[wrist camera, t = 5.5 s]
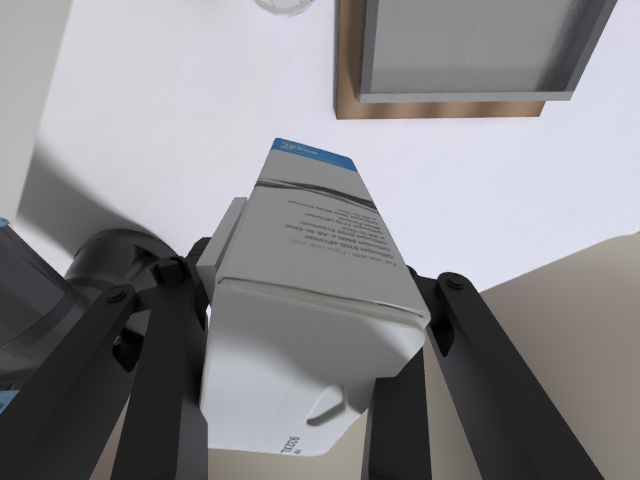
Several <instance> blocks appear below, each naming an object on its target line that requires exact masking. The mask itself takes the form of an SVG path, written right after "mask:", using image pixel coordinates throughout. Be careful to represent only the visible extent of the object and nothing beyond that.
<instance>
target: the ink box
mask: <svg viewBox="0 0 640 480" xmlns="http://www.w3.org/2000/svg"><path fill="white" fill-rule="evenodd" d="M430 320H431V316H430V312H429V310H428V308H427V306H426V304H425V302H424V300H423V298H422V296H421V294H420V292H419V290H418V288H417V286H416V284H415V282H414V280H413V278H412V276H411V274H410V272H409V270H408V268H407V266H406V264H405V262H404V260H403V258H402V256H401V254H400V252H399V250H398V248H397V246H396V245H395V242H394V240H393V238H392V236H391V234H390V232H389V230H388V228H387V227H386V225H385V223H384V221H383V219H382V217H381V215H380V214H379V212H378V210H377V208H376V206H375V204H374V202H373V200H372V198H371V196H370V194H369V192H368V190H367V188H366V186H365V184H364V182H363V180H362V178H361V176H360V174H359V173H358V171H357V169H356V167H355V165H354V163H353V161H352V160H351V159H350V158H348V157H345V156H341V155H338V154H335V153H331V152H328V151H325V150H321V149H317V148H314V147H310V146H307V145H303V144H300V143H296V142H293V141H289V140H285V139H281V138H276V139H275V140H274V142H273V145H272V147H271V149H270V152H269V154H268V156H267V159H266V161H265V163H264V166H263V168H262V171H261V173H260V175H259V177H258V180H257V182H256V184H255V186H254V189H253V191H252V193H251V195H250V198H249V200H248V202H247V205H246V207H245V209H244V211H243V214H242V216H241V218H240V220H239V223H238V225H237V228H236V230H235V232H234V234H233V236H232V239H231V241H230V243H229V246H228V248H227V251H226V253H225V255H224V258H223V260H222V263H221V265H220V267H219V270H218V272H217V274H216V278H215V289H214V295H213V301H212V308H211V316H210V323H209V329H208V337H207V344H206V353H205V361H204V368H203V376H202V383H201V390H200V398H199V407H200V410H201V412H202V414H203V416H204V418H205V419H206V421H207V423H208V448H217V449H231V450H243V451H254V452H264V453H276V454H287V455H296V456H318V455H322V454H324V453H326V452H327V451H328V450H329V449H330V448H331V447H332V446H333V445H334V443H335V442H336V441H338V439H339V438H340V437H341V436H342V435H343V434H344V433H345V431H346V430H347V428H348V427H349V426H350V425H351V424H352V422H353V421H355V420H356V419H357V418H359V417H360V416H361V414H362V413H363V412H364V411H365V410H366V409H367V408H368V406H369V405H370V403H371V399H372V394H373V389H374V385H375V380H376V378H381V377H395V376H396V375H397V374H398V373H399V372H400V371H401V370H402V369H403V367H404V366H405V365H406V364H407V363H408V362H409V361H410V360H411V358H412V357H413V356H414V355H415V354H416V353H417V352H418V351H419V349H420V348H421V347H422V346H423V345H424V341H425V334H424V329H425V327H426V326H427V324H428V323H429V322H430Z"/></svg>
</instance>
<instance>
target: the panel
mask: <svg viewBox="0 0 640 480" xmlns="http://www.w3.org/2000/svg"><path fill="white" fill-rule="evenodd" d="M361 5H362V0H339V38H338V77H337V115H336V118H337V120H343V119H413V118H483V117H539V116H540V113H541V111H542V109H543V106H544V104H545V102H546V101H485V102H406V103H359V102H358V101H356V85H357V69H358V53H359V37H360V21H361Z"/></svg>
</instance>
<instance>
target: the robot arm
mask: <svg viewBox="0 0 640 480" xmlns="http://www.w3.org/2000/svg"><path fill="white" fill-rule="evenodd" d="M247 202H248V200H247V197H240V198H234V200H233V201H232V203H231V205H230V206H229V208H228V210H227V212H226V213H225V215H224V217H223V219H222V220H221V222H220V224H219V226H218V227H217V229H216V231H215V233H214V234H213V236H212V237H203V238H201V239H200V240H199V241H197V242H196V243H195V244H194V246H193V247H192V249H191V251H190V252H189V253H188V256H186V258H184V257H182V256H177V255H176V254H175V253H174V252H173V251H172V250H171V249H170V248H169V247H168V246H166V245H165V244H163V243H162V242H160V241H159V240H157V239H155V238H153V237H151V236H148V235H146V234H143V233H139V232H136V231H131V230H122V229H115V230H107V231H103V232H101V233H98V234H96V235H95V236H93V237H92V238H91V239H89V240H88V241H87V242H86V243H84V244H83V245H82V246H81V247H80V248H79V250H78V251H77V253H76V255H75V258H74V261H73V263H72V264H71V266H70V267H69V269H68V271H67V273H66V274H65V276H64V278H63V277H62V276H61V275H60V274H59V273H58V272H57V271H56V270H54V269H53V268H52V267H51V266H50V265H49V264H48V263H47V262H46V261H45V260H44V259H43V258H42V257H41V256H39V255H38V254H37V253H36V252H35V251H34V250H33V249H32V248H31V247H30V246H29V245H28V244H27V243H26V242H25V241H24V240H23V239H22V238H21V237H20V236H19V235H18V234H17V233H16V232H15V231H14V230H13V229H11V228H10V227H9V226H8V224H10V222H9V221H8V220H6V219H4V218H0V480H89V478H90V476H91V474H92V472H93V470H94V468H95V466H96V464H97V462H98V460H99V458H100V456H101V454H102V452H103V449H104V447H105V445H106V443H107V441H108V439H109V437H110V435H111V433H112V431H113V429H114V427H115V425H116V423H117V420H118V418H119V416H120V414H121V412H122V410H123V408H124V406H125V404H126V402H127V400H128V398H129V396H130V394H131V396H130V400H129V404H128V408H127V412H126V416H125V420H124V424H123V428H122V432H121V437H120V441H119V445H118V449H117V453H116V457H115V461H114V465H113V470H112V474H111V478H110V480H208V423H207V421H206V419H205V418H204V416H203V414H202V412H201V410H200V407H199V398H200V390H201V383H202V376H203V368H204V361H205V353H206V344H207V337H208V316H207V313H206V309H207V307H208V305H209V304H210V307H211V308H212V301H213V295H214V289H215V278H216V274H217V272H218V270H219V267H220V265H221V263H222V260H223V258H224V255H225V253H226V251H227V248H228V246H229V243H230V241H231V239H232V236H233V234H234V232H235V230H236V228H237V225H238V223H239V220H240V218H241V216H242V214H243V211H244V209H245V207H246V205H247ZM406 266H407V268H408V270H409V272H410V274H411V276H412V278H413V280H414V282H415V284H416V286H417V288H418V290H419V292H420V294H421V296H422V298H423V300H424V302H425V304H426V306H427V308H428V310H429V312H430V316H431V320H430V322H429V323H428V324H427V326H426V327H425V328H426V331H427V333H428V336H429V338H430V341H431V344H432V347H433V349H434V352H435V354H436V357H437V360H438V362H439V365H440V368H441V370H442V373H443V376H444V378H445V381H446V384H447V386H448V389H449V391H450V394H451V397H452V399H453V402H454V405H455V407H456V410H457V413H458V415H459V418H460V421H461V423H462V426H463V428H464V431H465V434H466V436H467V439H468V442H469V444H470V447H471V450H472V452H473V455H474V458H475V460H476V463H477V465H478V468H479V471H480V473H481V476H482V479H483V480H605V479H604V478H603V476H602V475H601V473H600V472H599V470H598V469H597V468H596V466H595V465H594V463H593V462H592V460H591V459H590V457H589V456H588V454H587V453H586V452H585V450H584V448H583V447H582V445H581V444H580V443H579V441H578V439H577V438H576V436H575V435H574V434H573V432H572V431H571V429H570V428H569V426H568V425H567V423H566V422H565V420H564V419H563V417H562V416H561V414H560V413H559V412H558V410H557V408H556V407H555V405H554V404H553V402H552V401H551V400H550V398H549V397H548V395H547V394H546V392H545V391H544V389H543V388H542V386H541V385H540V383H539V382H538V380H537V379H536V377H535V376H534V374H533V373H532V371H531V370H530V368H529V367H528V366H527V364H526V363H525V361H524V360H523V358H522V357H521V355H520V354H519V352H518V351H517V349H516V348H515V346H514V345H513V344H512V342H511V340H510V339H509V337H508V336H507V335H506V333H505V332H504V330H503V329H502V327H501V326H500V324H499V323H498V321H497V320H496V318H495V317H494V315H493V314H492V312H491V311H490V309H489V308H488V307H487V305H486V303H485V302H484V300H483V299H482V298H481V296H480V295H479V293H478V292H477V290H476V289H475V287H474V286H473V284H472V283H471V282H470V281H469V280H468V279H467V278H466V277H464V276H462V275H460V274H457V273H453V272H445V273H442V274H440V275H439V276H438V279H431V278H426V277H422V276H419V275H417V273H416V271H415V270H414V269H413V268H412V267H410V266H408V265H406ZM361 480H432V474H431V459H430V444H429V432H428V417H427V402H426V388H425V374H424V359H423V346H422V347H421V348H420V349H419V351H418V352H417V353H416V354H415V355H414V356H413V357H412V358H411V360H410V361H409V362H408V363H407V364H406V365H405V366H404V367H403V369H402V370H401V371H400V372H399V373H398V374H397V375H396V376H395V377H381V378H376V380H375V385H374V389H373V394H372V399H371V403H370V405H369V406H368V415H367V424H366V434H365V443H364V454H363V463H362V472H361Z"/></svg>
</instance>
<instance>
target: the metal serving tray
mask: <svg viewBox="0 0 640 480" xmlns="http://www.w3.org/2000/svg"><path fill="white" fill-rule="evenodd" d="M617 1H618V0H362V5H361V21H360V37H359V53H358V69H357V85H356V101H358V102H359V103H406V102H485V101H564V100H570V99H571V97H572V95H573V93H574V91H575V88H576V86H577V84H578V82H579V80H580V78H581V76H582V74H583V72H584V70H585V67H586V65H587V63H588V61H589V59H590V57H591V55H592V53H593V51H594V49H595V47H596V44H597V42H598V40H599V38H600V36H601V34H602V32H603V30H604V28H605V26H606V24H607V21H608V19H609V17H610V15H611V13H612V11H613V9H614V7H615V5H616V3H617Z"/></svg>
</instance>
